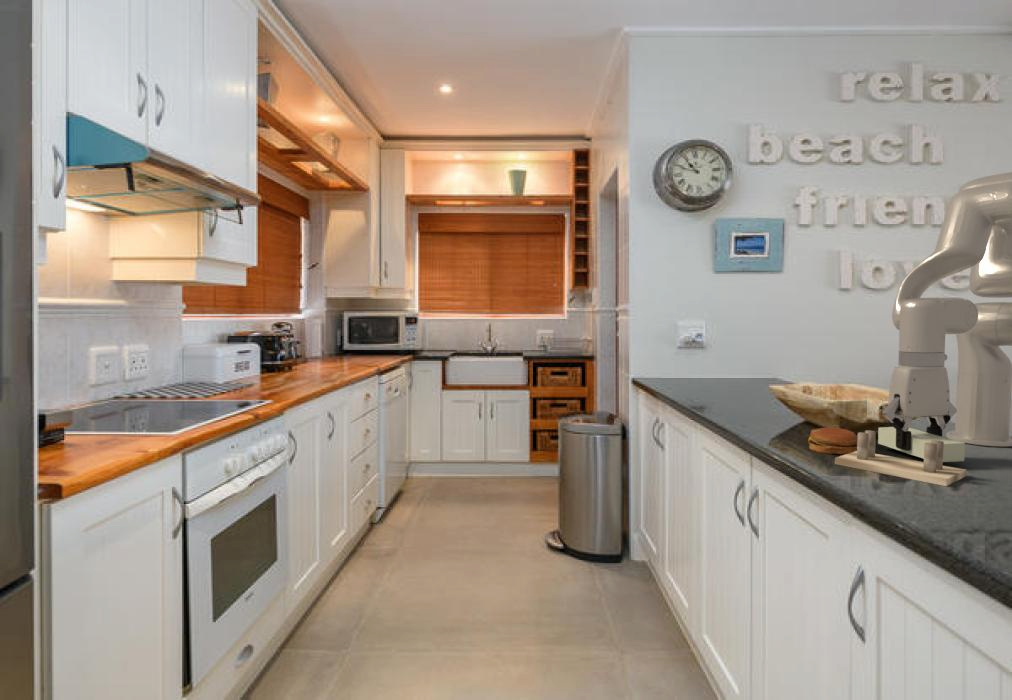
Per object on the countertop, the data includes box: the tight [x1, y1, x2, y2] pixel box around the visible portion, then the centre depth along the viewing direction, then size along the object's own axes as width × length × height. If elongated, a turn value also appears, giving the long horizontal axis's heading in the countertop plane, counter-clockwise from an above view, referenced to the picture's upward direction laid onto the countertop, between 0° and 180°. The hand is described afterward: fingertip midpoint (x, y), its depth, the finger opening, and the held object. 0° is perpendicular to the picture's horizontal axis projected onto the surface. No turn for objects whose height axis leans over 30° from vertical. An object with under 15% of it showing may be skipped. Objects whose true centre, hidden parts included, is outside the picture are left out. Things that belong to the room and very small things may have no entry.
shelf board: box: [877, 426, 966, 463], centre depth 116 cm, size 6×15×4 cm, turn 4°
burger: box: [807, 427, 858, 456], centre depth 123 cm, size 10×9×5 cm
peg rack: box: [834, 429, 967, 487], centre depth 107 cm, size 10×18×6 cm, turn 36°
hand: (918, 447), depth 116 cm, fingers closed on shelf board, 6 cm apart
